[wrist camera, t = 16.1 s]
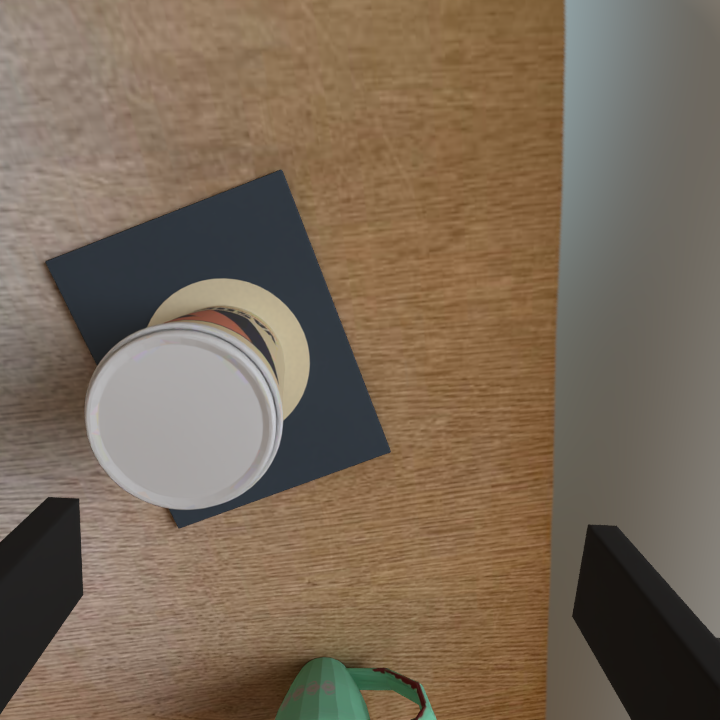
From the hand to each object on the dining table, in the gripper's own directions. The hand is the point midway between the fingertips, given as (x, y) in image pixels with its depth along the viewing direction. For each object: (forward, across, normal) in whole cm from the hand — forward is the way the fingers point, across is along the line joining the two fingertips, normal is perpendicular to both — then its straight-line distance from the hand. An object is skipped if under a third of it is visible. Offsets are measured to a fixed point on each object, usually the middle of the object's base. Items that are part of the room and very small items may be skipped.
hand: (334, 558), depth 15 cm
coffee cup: (+25, -7, -1) cm, 26 cm away
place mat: (+25, -8, -1) cm, 26 cm away
